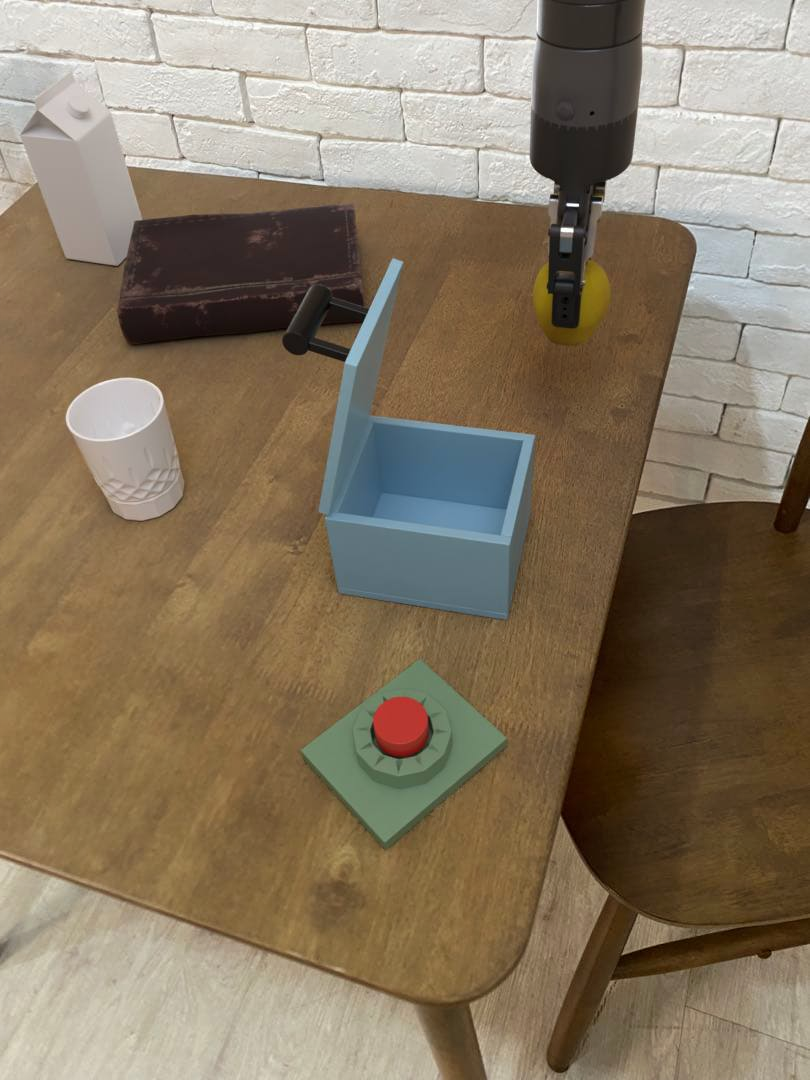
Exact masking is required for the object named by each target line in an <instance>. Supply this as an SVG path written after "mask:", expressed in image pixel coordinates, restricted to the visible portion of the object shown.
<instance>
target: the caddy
mask: <svg viewBox="0 0 810 1080" xmlns="http://www.w3.org/2000/svg"><path fill="white" fill-rule="evenodd" d="M535 445H536V434H531V433H522V432H514V431H505V430H496V429H488V428H480V427H471V426H464V425H463V426H461V425H456V424H455V425H454V424H447V423H437V422H428V421H421V420H413V419H405V418H404V419H403V418H395V417H386V416H379V415H371V414H370V415H369V418H368V420H367V423H366V425H365V427H364V430H363V432H362V435H361V437H360V440H359V442H358V445H357V447H356V450H355V452H354V454H353V457H352V459H351V462H350V464H349V467H348V469H347V472H346V474H345V476H344V479H343V481H342V484H341V486H340V489H339V491H338V494H337V496H336V499H335V501H334V503H333V506H332V508H331V511H330V513H329V515H325V517H324V523H325V528H326V529H325V530H326V533H327V540H328V546H329V551H330V556H331V561H332V567H333V572H334V578H335V582H336V587H337V588H336V589H337V593H338V594H339V595H347V596H353V597H359V598H365V599H372V600H378V601H385V602H391V603H396V604H403V605H408V606H415V607H422V608H427V609H428V608H429V609H433V610H434V609H435V610H441V611H447V612H453V613H458V614H459V613H460V614H465V615H472V616H477V617H478V616H479V617H483V618H484V617H485V618H491V619H496V620H502V621H508V619H509V615H510V610H511V606H512V601H513V597H514V592H515V587H516V583H517V579H518V574H519V569H520V564H521V561H522V560H521V559H522V555H523V552H524V551H523V550H524V546H525V542H526V537H527V532H528V527H529V524H530V523H529V522H530V518H531V514H532V501H533V500H532V499H533V484H534V483H533V482H534V465H535V463H534V462H535Z"/></svg>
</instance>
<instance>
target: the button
mask: <svg viewBox="0 0 810 1080" xmlns="http://www.w3.org/2000/svg"><path fill="white" fill-rule="evenodd" d="M373 725H374V731H375V737H376V741H377V743H378V745H379V747H380V748H381V749H382V750H383V751H384V752H386V753H387V754H389V755H392V756H395V757H407V756H411V755H413V754H415V753H417V752H419V751H420V750H421V749H422V748H423V747H424V746H425V744H426V742H427V740H428V736H429V727H428V716H427V713H426V710H425V708H424V707H423V706H422V705H421V704H420V703H419V702H418V701H416V700H414V699H412V698H409V697H394V698H391V699H389V700H387V701H385V702H384V703H382V704H381V705H380V706H379V707H378V709H377V710H376V712H375V714H374V718H373Z"/></svg>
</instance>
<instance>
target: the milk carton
mask: <svg viewBox="0 0 810 1080" xmlns="http://www.w3.org/2000/svg"><path fill="white" fill-rule="evenodd" d="M32 100H33V104H34V106H35V109H36V111H35V112H34V113H33V115H32V116H31V118H30V119H29V121H28V122H27V124H26V125H25V127H24V128H23V129H22V131H21V132H20V134H19V137H20V139H21V142H22V145H23V147H24V150H25V152H26V156H27V158H28V160H29V164H30V166H31V169H32V172H33V174H34V177H35V180H36V182H37V184H38V187H39V190H40V193H41V195H42V198H43V201H44V204H45V206H46V209H47V211H48V214H49V217H50V220H51V222H52V225H53V227H54V231H55V232H56V236H57V238H58V242H59V243H60V246H61V250H62V252H63V255H64V257H65V259H67V260H72V261H73V260H74V261H79V262H80V261H81V262H87V263H95V264H101V265H108V266H115V267H118V266H119V265H120V264H122V262H124V261H125V260H126V257H127V253H128V248H129V243H130V239H131V234H132V230H133V225H134V221H138V220H143V217H142V213H141V210H140V207H139V203H138V199H137V196H136V193H135V190H134V186H133V183H132V179H131V176H130V172H129V168H128V165H127V163H126V158H125V155H124V152H123V149H122V146H121V142H120V139H119V135H118V132H117V128H116V125H115V121H114V118H113V114H112V112H111V110H110V109H109V108H108V107H106V106H105V105H104V103H102V102H101V101H99V100H98V99H97V98H96V97H95V96H93V95H92V94H91V93H90V92H89V91H87V90H86V88H84V87H83V86H82V85H80V83H78V82H77V81H76V79H75V76H74V72H73V71H72V70H70V71H68V72H67V73H66V74H65V75H63V76H62V77H60V78H59V79H58V80H56V81H55V82H54V83H53V84H51V85H50V86H48V87H47V88H46V89H45V90H43V91H42V92H41V93H39V95H37V96H36V97H34V98H33V99H32Z"/></svg>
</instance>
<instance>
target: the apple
mask: <svg viewBox="0 0 810 1080" xmlns="http://www.w3.org/2000/svg"><path fill="white" fill-rule="evenodd" d="M548 269H549V261H547V262H546V264H544V265H543V266H542V267H541V269H540V271H539V273H538V274H537V276H536V279H535V281H534V286H533V291H532V306H533V311H534V314H535V317H536V320H537V322H538V324H539V326H540V329H541V331H542V333H543V334H544V336H545V337H546V339H548V340H549V342H551V343H552V344H554V345H558V346H569V347H575V346H578V345H581V344H582V343H585V342H586V341H588V340H589V339H590V338H591V337H592V335H593V334H594V333H595V332H596V330H597V329H598V328H599V325H600V324H601V323H602V321H603V320H604V318H605V316H606V315H607V312H608V311H609V307H610V303H611V296H612V295H611V294H612V293H611V285H610V280H609V277H608V275H607V273H606V271H605V270H604V268H603V267H602V266H601V265H600V264H598V263H597V262H595V261H594V260H592V259H591V260H589V259H587V260H586V266H585V274H584V279H585V286H583V291H582V296H581V309H580V320H579V325H578V327H576V328H561V327H555V326H553V325H552V323H551V319H552V299H553V294H548V289H547V282H548ZM559 273H573V272H568V271H559ZM573 274H574V273H573Z"/></svg>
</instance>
